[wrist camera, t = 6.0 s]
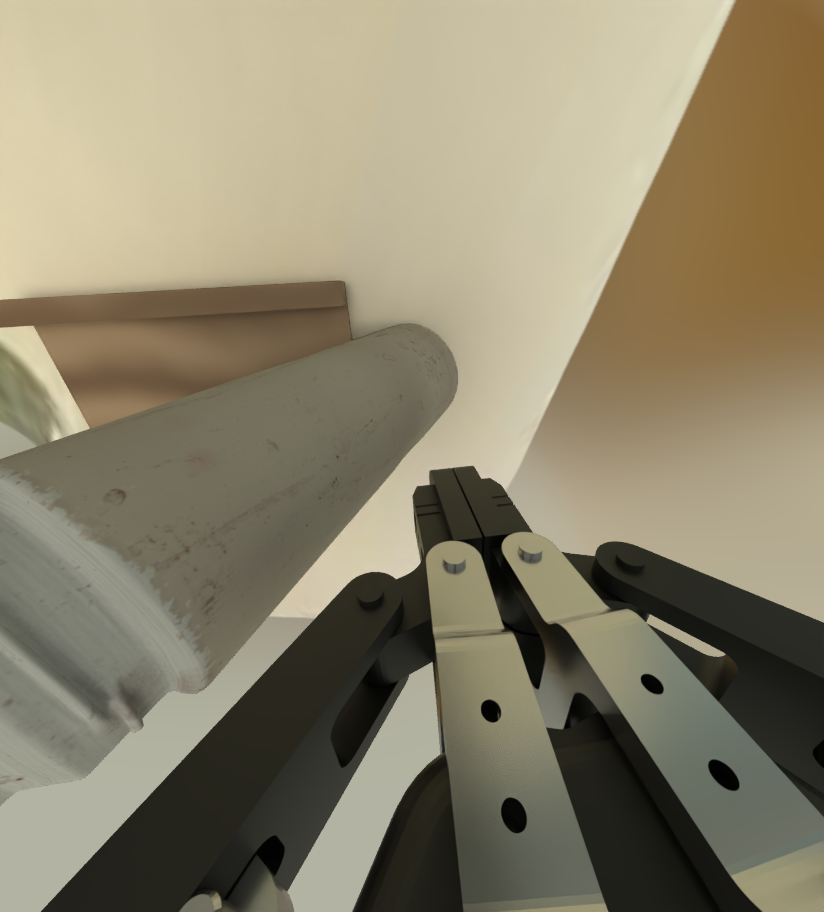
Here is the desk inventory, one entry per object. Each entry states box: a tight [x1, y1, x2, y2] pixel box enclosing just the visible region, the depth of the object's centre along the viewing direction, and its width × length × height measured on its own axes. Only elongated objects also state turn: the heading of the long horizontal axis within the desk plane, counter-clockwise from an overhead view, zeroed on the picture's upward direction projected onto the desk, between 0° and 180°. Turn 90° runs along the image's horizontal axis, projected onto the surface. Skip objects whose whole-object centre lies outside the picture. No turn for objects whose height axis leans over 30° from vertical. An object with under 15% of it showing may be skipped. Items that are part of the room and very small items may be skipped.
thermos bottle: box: [0, 324, 458, 806], centre depth 15 cm, size 8×8×28 cm
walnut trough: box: [0, 281, 352, 429], centre depth 25 cm, size 14×22×4 cm, turn 93°
